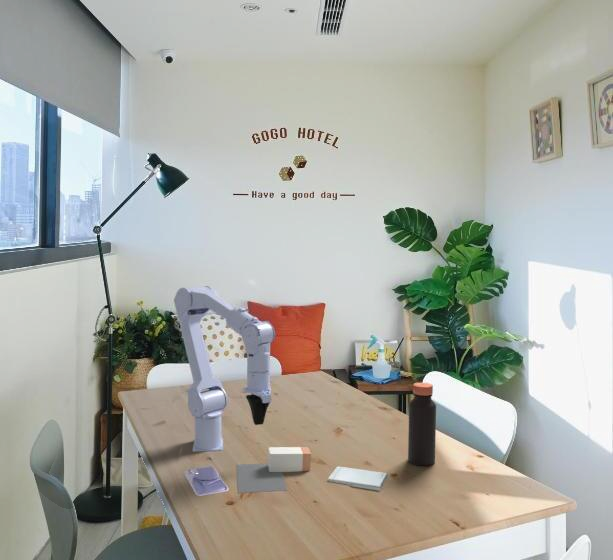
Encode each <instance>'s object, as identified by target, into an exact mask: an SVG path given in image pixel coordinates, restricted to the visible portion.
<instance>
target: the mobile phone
mask: <svg viewBox="0 0 613 560" xmlns="http://www.w3.org/2000/svg"><path fill="white" fill-rule="evenodd" d="M183 473H184V476H185V477H186V479H187V480H188V482H189V484H190V486H191V488H192V489H193V490H192V491H193V492H194V493H195V495H196V496H199V497H200V496H201V497H202V496H208V495H212V494H213V495H214V494H219V493H224V492H228V491H229V487H228V486H227V484H226V483H225V482H224V480H223V479H222V476H220V474H219V473H218V471H217V469H216V468H215V467H213V466H206V467H200V468H199V467H198V468H193V469H187V470H185V471H184V472H183Z"/></svg>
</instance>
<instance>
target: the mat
mask: <svg viewBox="0 0 613 560" xmlns="http://www.w3.org/2000/svg"><path fill="white" fill-rule="evenodd" d="M236 479H237V481H236V482H237V493H238V494H244V493H245V494H246V493H265V492H280V491H282V492H283V491H285V492H286V491H288V488H287V484H286V480H285V476H284V472H269V468H268V462H267V463H266V462H265V463H248V464H236Z"/></svg>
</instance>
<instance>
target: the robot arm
mask: <svg viewBox="0 0 613 560" xmlns="http://www.w3.org/2000/svg"><path fill="white" fill-rule="evenodd" d="M173 302H174V307H175V311H176V315H177V318H178V322H179V326H180V327H179V328H180V332H181V335H182V340H183V343H184V348H185V353H186V356H187V359H188V360H187V361H188V364H189V368H190V369H189V370H190V372H191V377H192V381H193V383H192V384H191V385H190V387H189V388H188V390H187V391H186V394H187V407H188V410H189V412H190V414H191V415H192V417H194V440H193V446H192V453H193V452H194V453H196V452H216V451H217V452H218V451H223V450H224V437H222V414H224V409H226V407H227V406H228V399H229V398H228V395H227V393H226V391H225V389H224V387H223V383H222V382H221V381H220V380H218V379H217V378H216V377H214V374H213V371H212V368H211V363H210V359H209V356H208V351H207V348H206V343H205V340H204V336H203V331H202V327H201V321H202V319H203V318H204V317H206V315H207V314H208V312H209V311H212V312H213V313H215V314H217V315H218V316H220V317H221V318H223V319H224V320H225V323H226V326H227V327H228V328H230V329H231V330H233V331H234V332H236V333H237V335H239V336H241V338H242V339H241V340H242V342H243V344H244V346H245V347H244V349H245V351H246V354H247V355H246V356H247V357H246V361H247V363H246V364H247V365H246V368H247V369H246V370H247V371H246V377H247V378H246V379H247V380H246V387H243V388H242V392H243V393H249V394H247V395H245V398H246V400H247V402H248V404H249V407H250V413H251V417H252V422H253V424H254V425H256V426H258V425H264V422H265V418H266V415H267V410H268V407H269V406H270V404H271V402H272V394H271V391H272V387H271V343H273V342H274V340H275V338H276V331H275V330H276V329H275V328H274V326H273V325H272V323H270V321H268V320H264V321H261V320H259V318H258V317H256V316H254V315H251V314H250V313H248V312H247V309H246V308H244V307H235V308H234V307H232V306H231V304H229V303H228V302H226V301H225V300H224V299H223V298H222V297H221V296H219V295H218V293H217V290H216V289H213V288H212V287H211V286H209V285H205V286H197V287H195V286H194V287H180V288H179V289H178V290H177V291H176V294H175V296H174V298H173Z"/></svg>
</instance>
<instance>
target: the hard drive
mask: <svg viewBox="0 0 613 560" xmlns="http://www.w3.org/2000/svg"><path fill="white" fill-rule="evenodd" d="M387 478H388V473H387V472H382V471H373V470H367V469H362V468H361V469H360V468H354V467H353V468H351V467H345V466H336V468H335V469H334V470H333V471H332V473H331V474H330V475H329V477H328V478H327V482H331V483H336V484H343V485H348V486H349V487H354V488H360V489H367V490H373V491H377V492H378V491H379V492H381V489H382V488H383V485H384V484H385V482H386V481H387Z"/></svg>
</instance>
